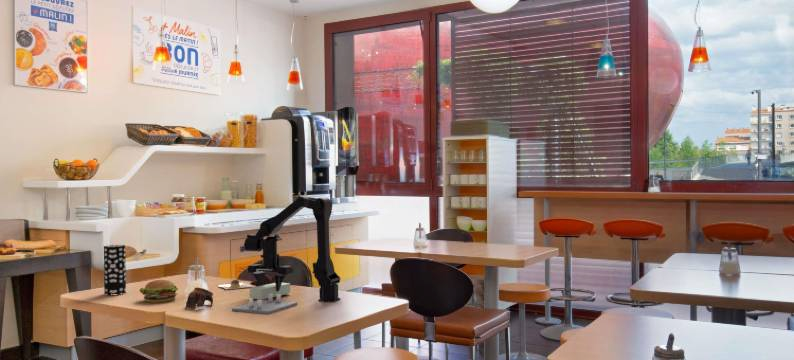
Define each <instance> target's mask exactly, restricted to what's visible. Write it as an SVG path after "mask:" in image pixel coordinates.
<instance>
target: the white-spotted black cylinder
mask: <svg viewBox="0 0 794 360" xmlns="http://www.w3.org/2000/svg"><path fill="white" fill-rule="evenodd" d="M126 270H127V269H126V245H125V244H112V245H111V244H109V245H103V283H104V285H103V286H104V287H103V291H104V294H106V295H105V296H112V295H111V294H122V293H125V294H126V293H127V277H126V276H127V274H126V273H127V271H126ZM122 295H123V294H122Z"/></svg>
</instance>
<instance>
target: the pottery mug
mask: <svg viewBox="0 0 794 360" xmlns="http://www.w3.org/2000/svg"><path fill="white" fill-rule="evenodd" d="M213 296H214V293H213V292H212V291H210V290H208V289H206V288H202V287H194V289H193V290H192V291H190V293H189V294H188V296H187V299H186V302H185V309H186V308H188V309H192V310H195V309H196V306H197V307H200V308H202V307H204V305H205V302H206V301H208V302H210V306H213V304H214V299H213Z"/></svg>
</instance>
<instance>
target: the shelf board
mask: <svg viewBox="0 0 794 360" xmlns="http://www.w3.org/2000/svg"><path fill="white" fill-rule="evenodd" d="M268 294H273V298H275V297H276V295H277V294H281V296H286V295H290V294H291V283H290V282H282V284H281V287H280V290H279V291H278V292H277V290H276V283H275V282H274V283H272V284H267V285H262V286H257V287H256V286H253V287H251V288H249V299H253V300H254V299H255V300H261V299H263V300H268Z"/></svg>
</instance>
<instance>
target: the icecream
mask: <svg viewBox="0 0 794 360" xmlns="http://www.w3.org/2000/svg"><path fill="white" fill-rule="evenodd" d="M272 283H275V275H272V276H269V275H267V274H265V276H264V285H267V284H272ZM249 285H251V286H253V287H257V286H259V284H258V282H257V280H256V279H254V280H253V281H251V282H249Z"/></svg>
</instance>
